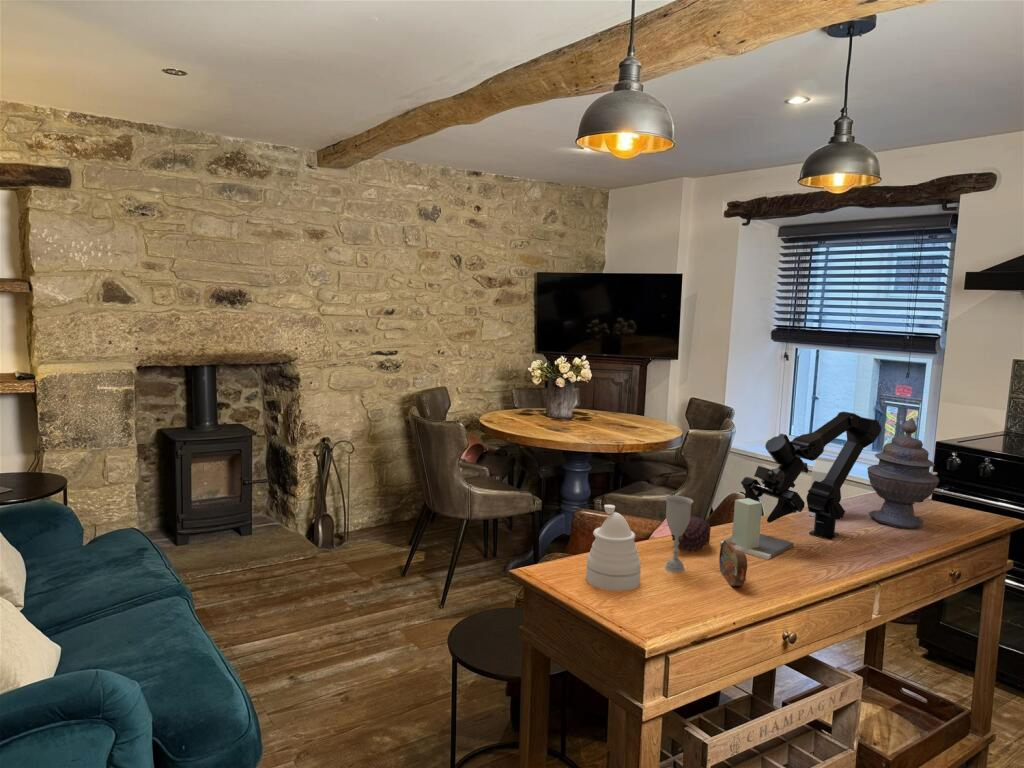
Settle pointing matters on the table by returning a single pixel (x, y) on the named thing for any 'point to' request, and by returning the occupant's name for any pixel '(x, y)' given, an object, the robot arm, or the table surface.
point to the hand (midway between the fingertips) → (755, 516)
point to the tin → (733, 563)
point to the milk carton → (820, 471)
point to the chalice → (677, 526)
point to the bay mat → (766, 546)
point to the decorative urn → (902, 479)
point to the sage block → (747, 523)
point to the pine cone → (694, 535)
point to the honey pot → (613, 555)
